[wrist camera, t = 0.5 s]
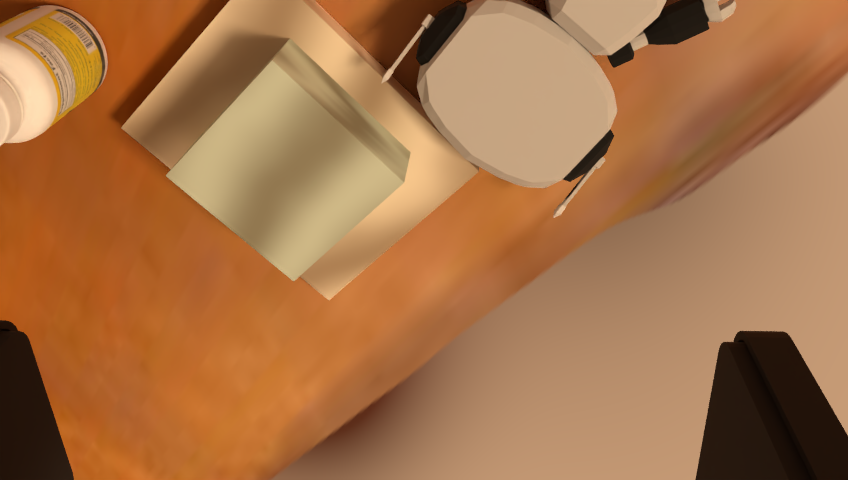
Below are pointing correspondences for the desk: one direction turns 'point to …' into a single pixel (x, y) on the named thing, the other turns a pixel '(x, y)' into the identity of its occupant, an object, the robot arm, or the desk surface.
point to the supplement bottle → (46, 69)
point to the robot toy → (539, 78)
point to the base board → (348, 66)
